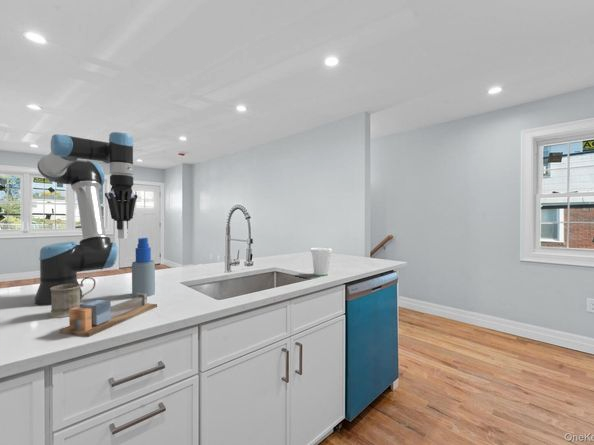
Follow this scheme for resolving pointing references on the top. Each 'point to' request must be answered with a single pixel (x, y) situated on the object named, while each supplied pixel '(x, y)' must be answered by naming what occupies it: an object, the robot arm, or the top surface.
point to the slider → (98, 310)
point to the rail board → (120, 312)
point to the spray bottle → (143, 270)
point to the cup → (321, 260)
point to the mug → (66, 298)
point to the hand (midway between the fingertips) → (122, 238)
